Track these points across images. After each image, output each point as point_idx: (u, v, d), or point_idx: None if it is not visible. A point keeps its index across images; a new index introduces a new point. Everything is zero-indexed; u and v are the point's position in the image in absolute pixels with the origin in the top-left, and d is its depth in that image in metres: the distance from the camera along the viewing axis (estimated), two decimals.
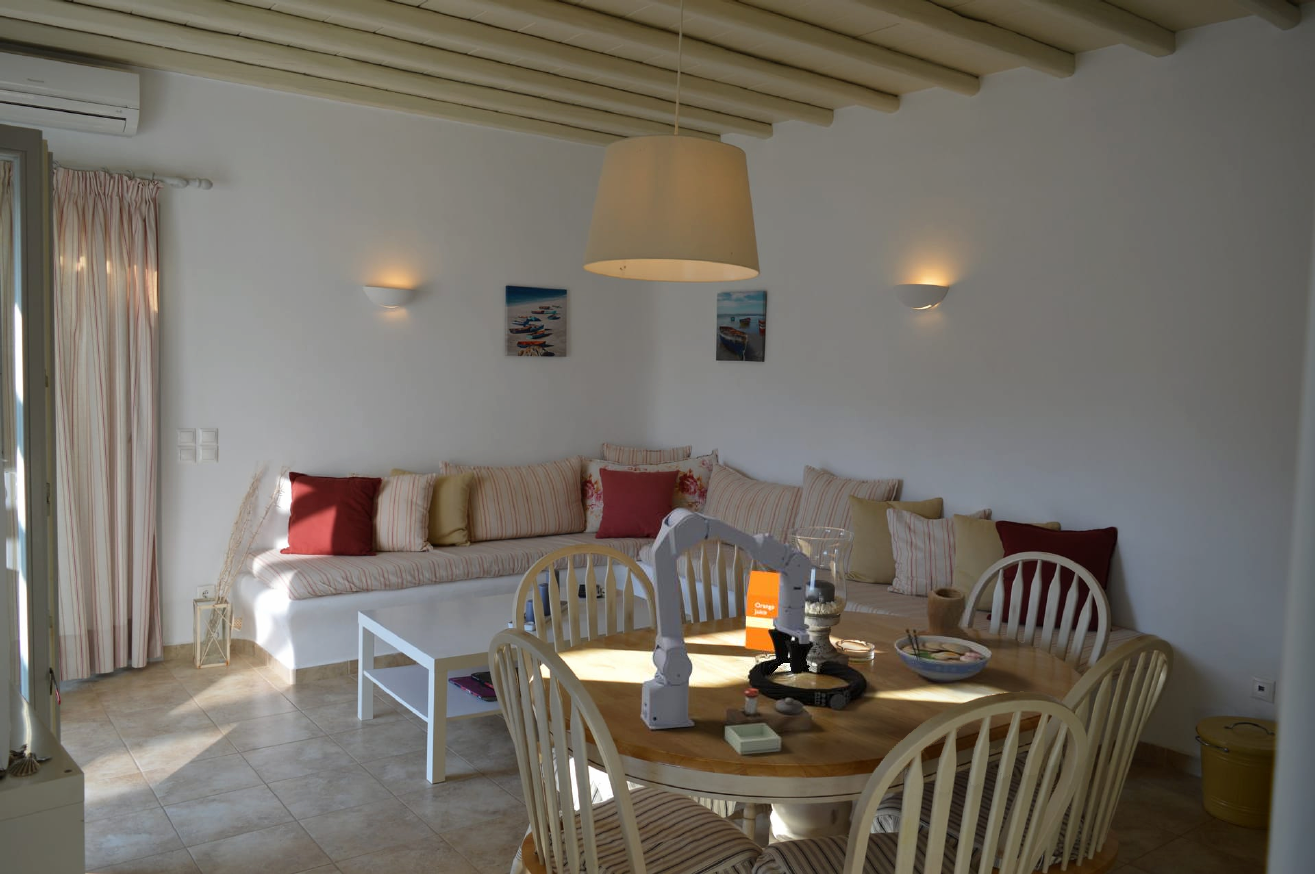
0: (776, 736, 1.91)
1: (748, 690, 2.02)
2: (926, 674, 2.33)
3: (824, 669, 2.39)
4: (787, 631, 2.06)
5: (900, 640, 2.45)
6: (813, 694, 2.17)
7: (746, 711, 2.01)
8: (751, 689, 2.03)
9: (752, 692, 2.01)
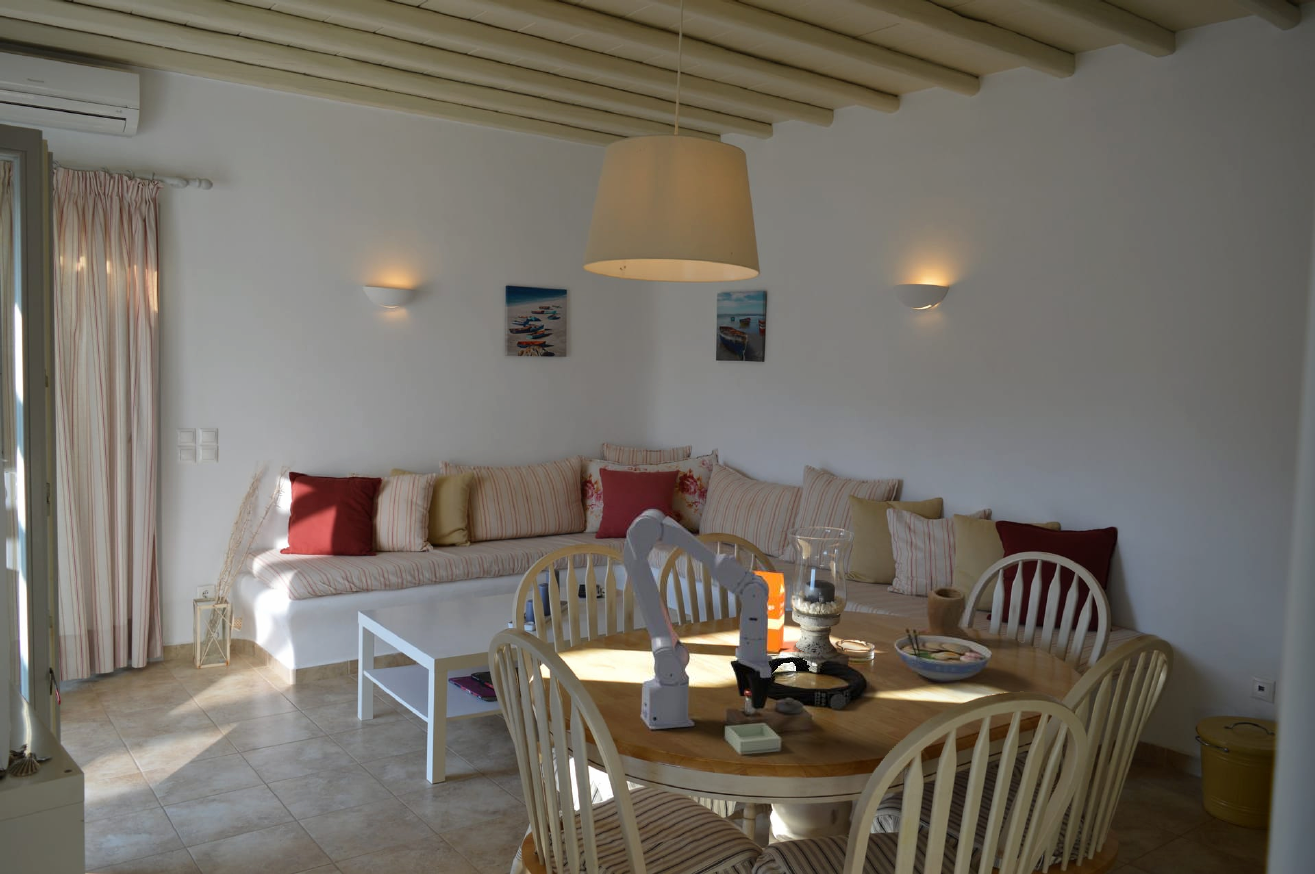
0: (776, 736, 1.91)
1: (748, 690, 2.02)
2: (926, 674, 2.33)
3: (824, 669, 2.39)
4: (748, 664, 1.98)
5: (900, 640, 2.45)
6: (813, 694, 2.17)
7: (746, 711, 2.01)
8: None
9: None
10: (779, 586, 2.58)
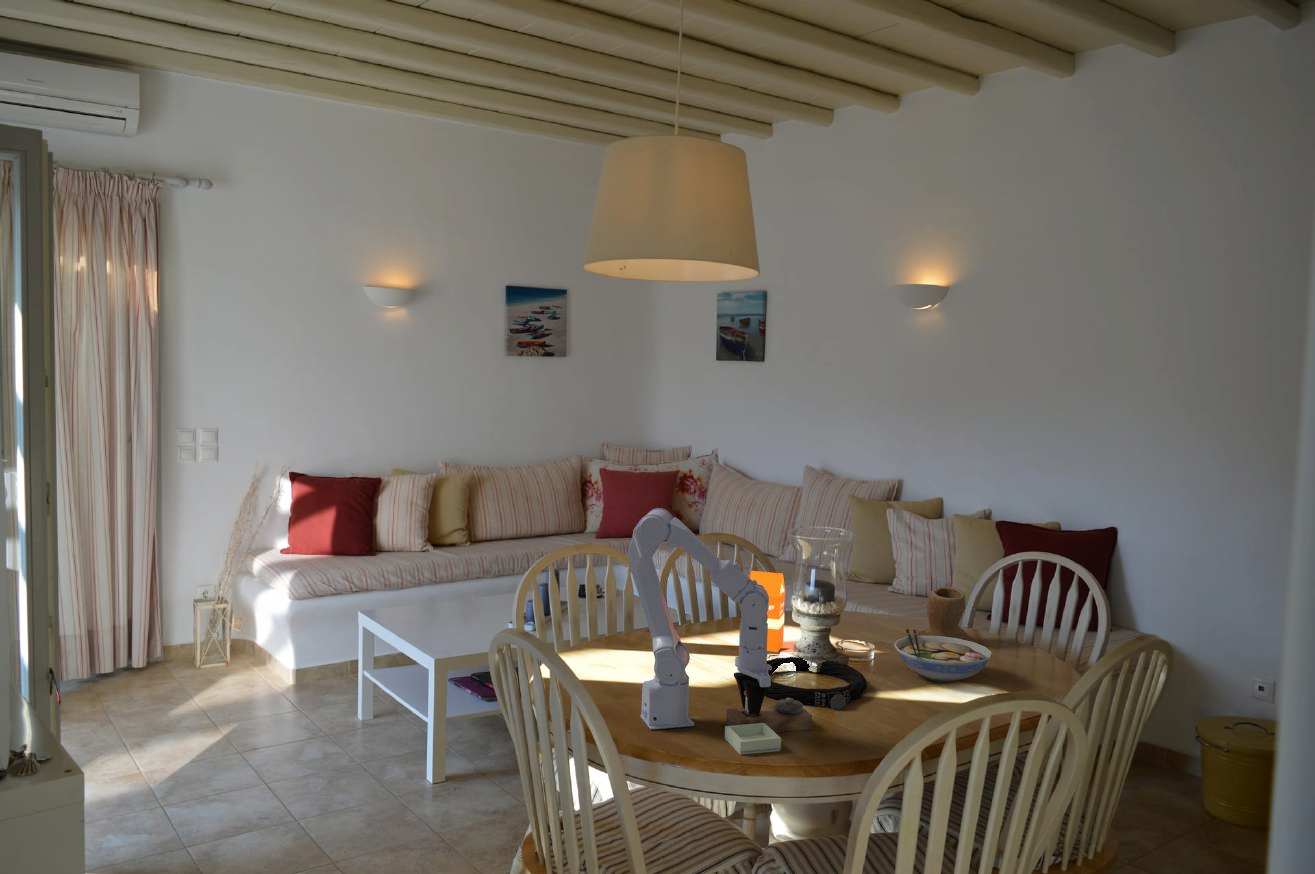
0: (776, 736, 1.91)
1: None
2: (926, 674, 2.33)
3: (824, 669, 2.39)
4: (748, 673, 1.98)
5: (900, 640, 2.45)
6: (813, 694, 2.17)
7: (746, 711, 2.01)
8: None
9: None
10: (779, 586, 2.58)
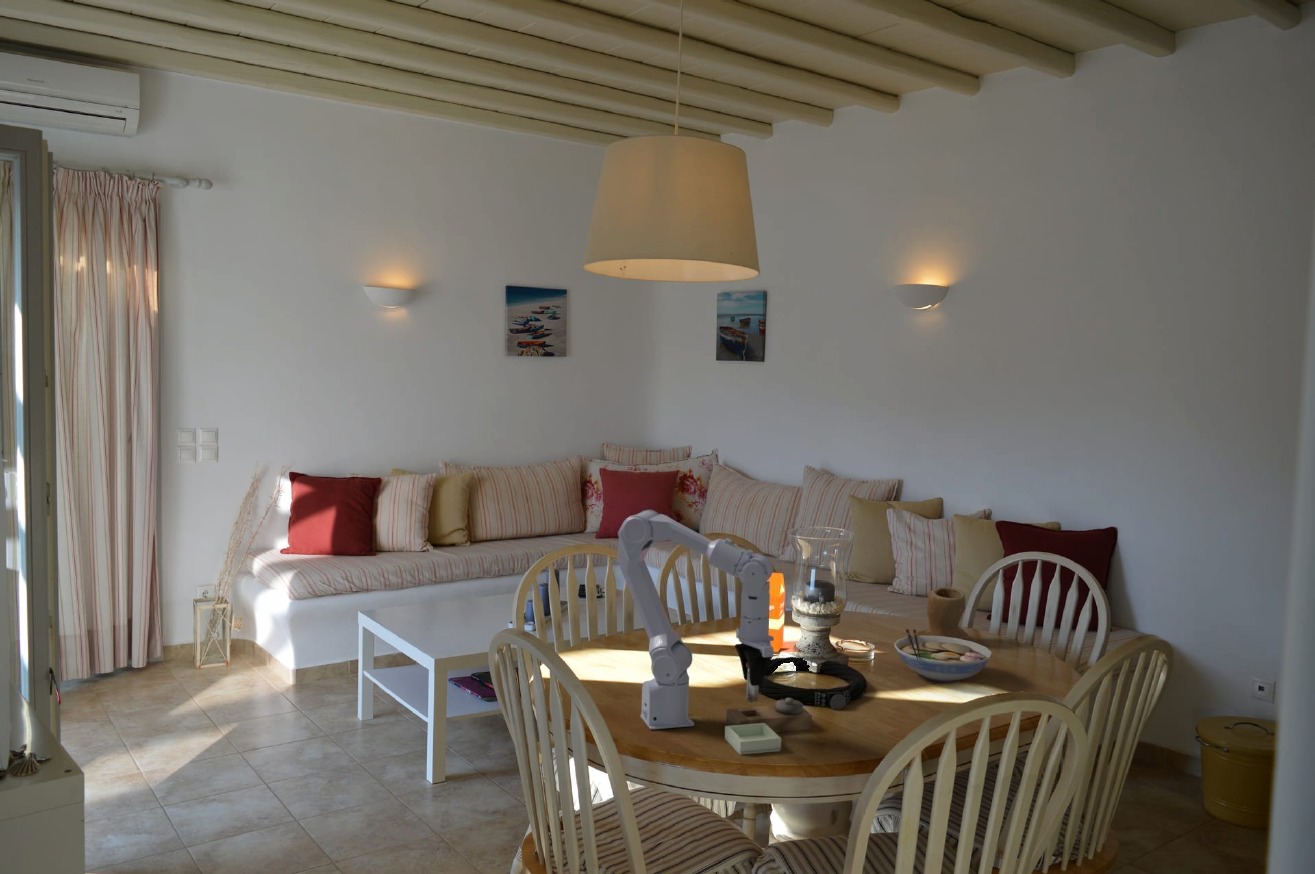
0: (776, 736, 1.91)
1: None
2: (926, 674, 2.33)
3: (824, 669, 2.39)
4: (750, 644, 1.95)
5: (900, 640, 2.45)
6: (813, 694, 2.17)
7: (748, 683, 1.98)
8: None
9: None
10: (779, 586, 2.58)
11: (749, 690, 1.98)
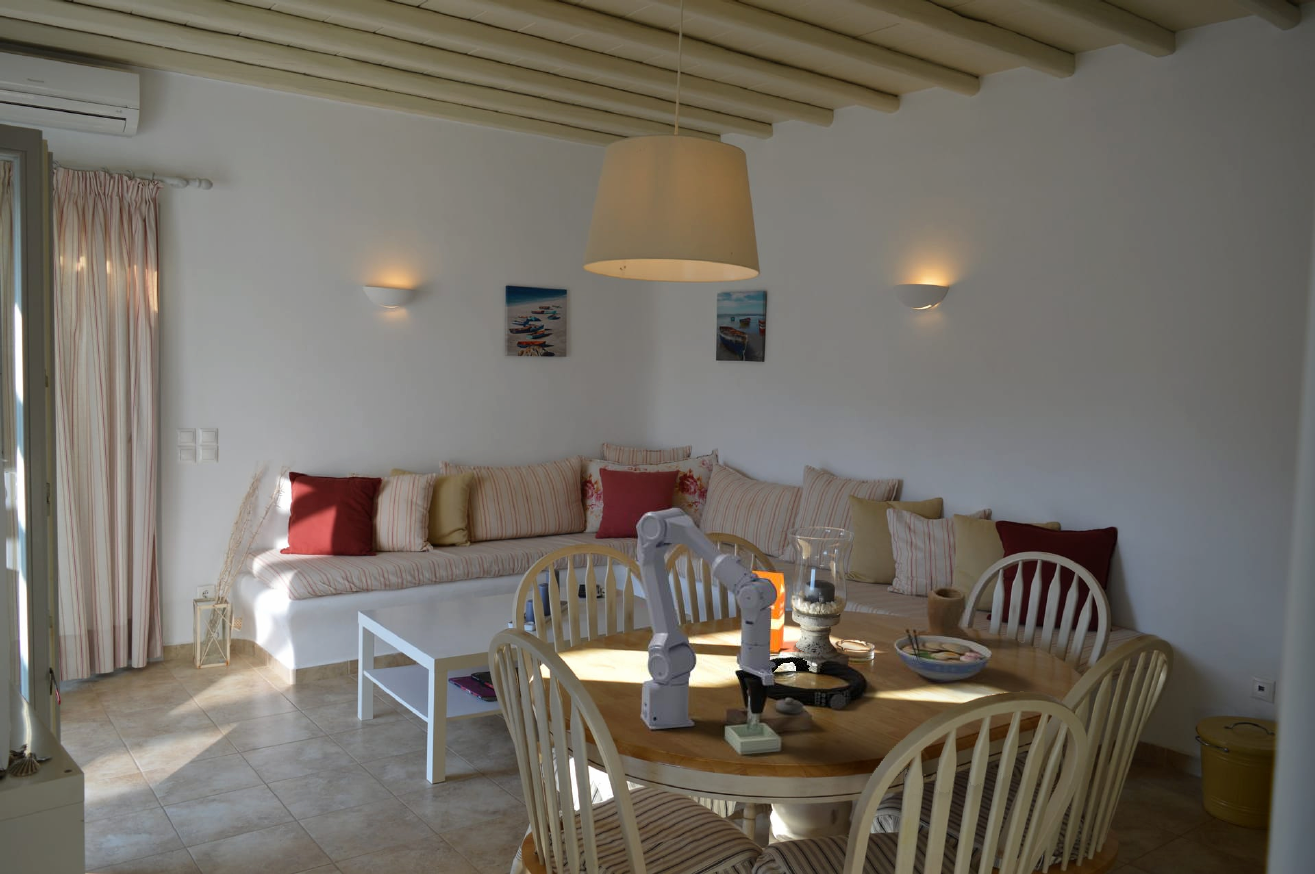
0: (776, 736, 1.91)
1: None
2: (926, 674, 2.33)
3: (824, 669, 2.39)
4: (750, 671, 1.89)
5: (900, 640, 2.45)
6: (813, 694, 2.17)
7: (749, 711, 1.92)
8: None
9: None
10: (779, 586, 2.58)
11: (750, 718, 1.92)
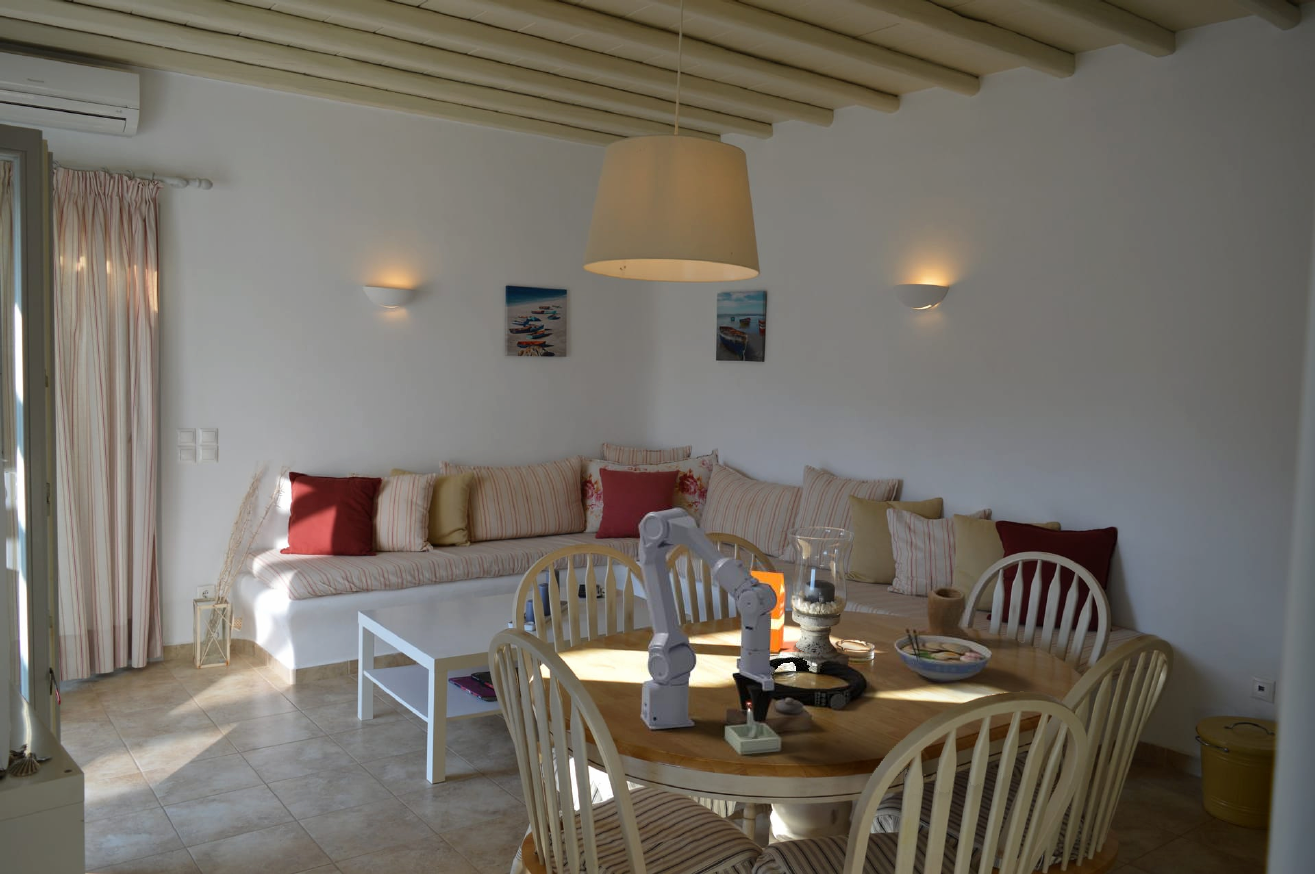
0: (776, 736, 1.91)
1: (750, 701, 1.93)
2: (926, 674, 2.33)
3: (824, 669, 2.39)
4: (750, 676, 1.89)
5: (900, 640, 2.45)
6: (813, 694, 2.17)
7: (748, 723, 1.93)
8: None
9: None
10: (779, 586, 2.58)
11: (749, 730, 1.92)
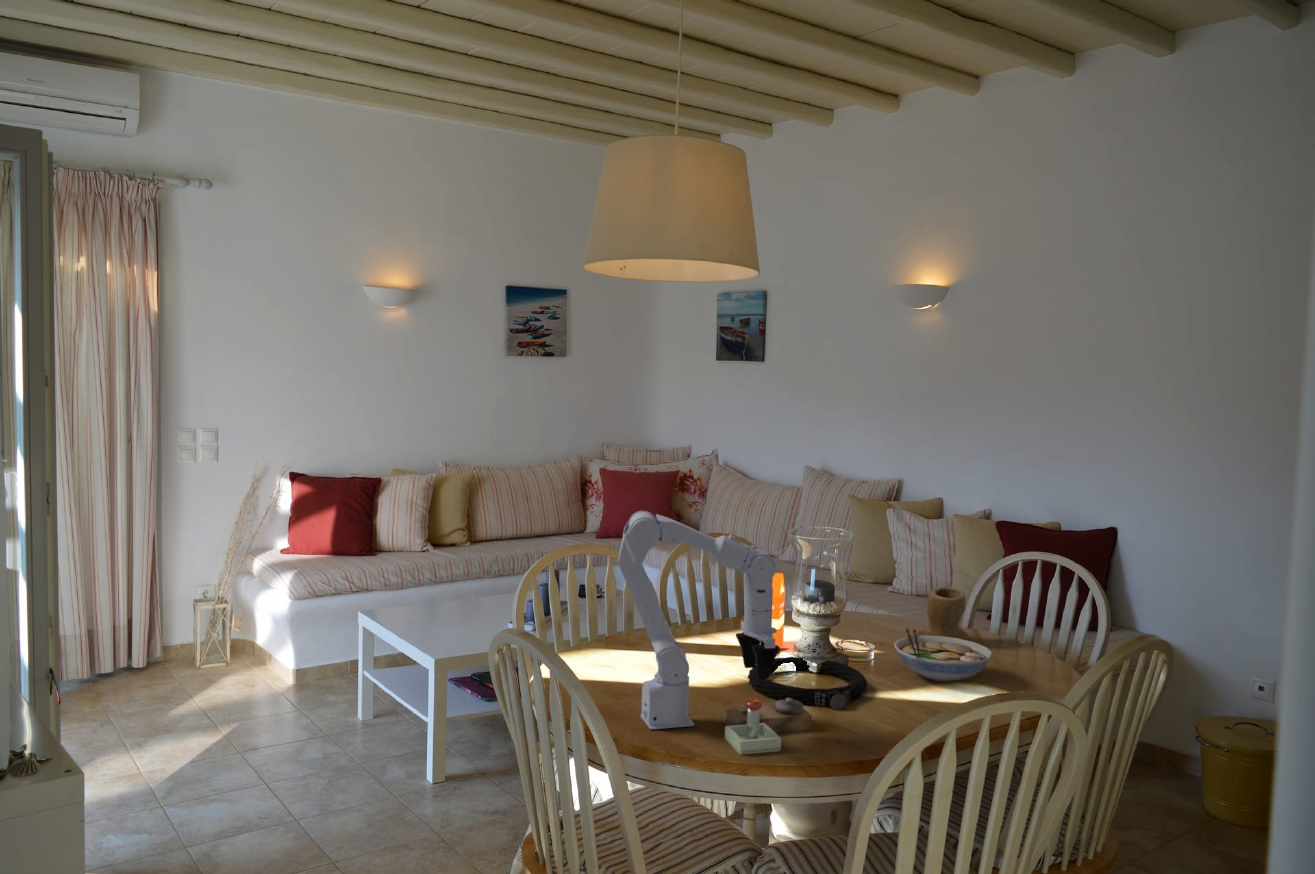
0: (776, 736, 1.91)
1: (750, 701, 1.93)
2: (926, 674, 2.33)
3: (824, 669, 2.39)
4: (753, 635, 2.01)
5: (900, 640, 2.45)
6: (813, 694, 2.17)
7: (748, 723, 1.93)
8: (753, 700, 1.94)
9: (754, 703, 1.92)
10: (779, 586, 2.58)
11: (749, 730, 1.92)
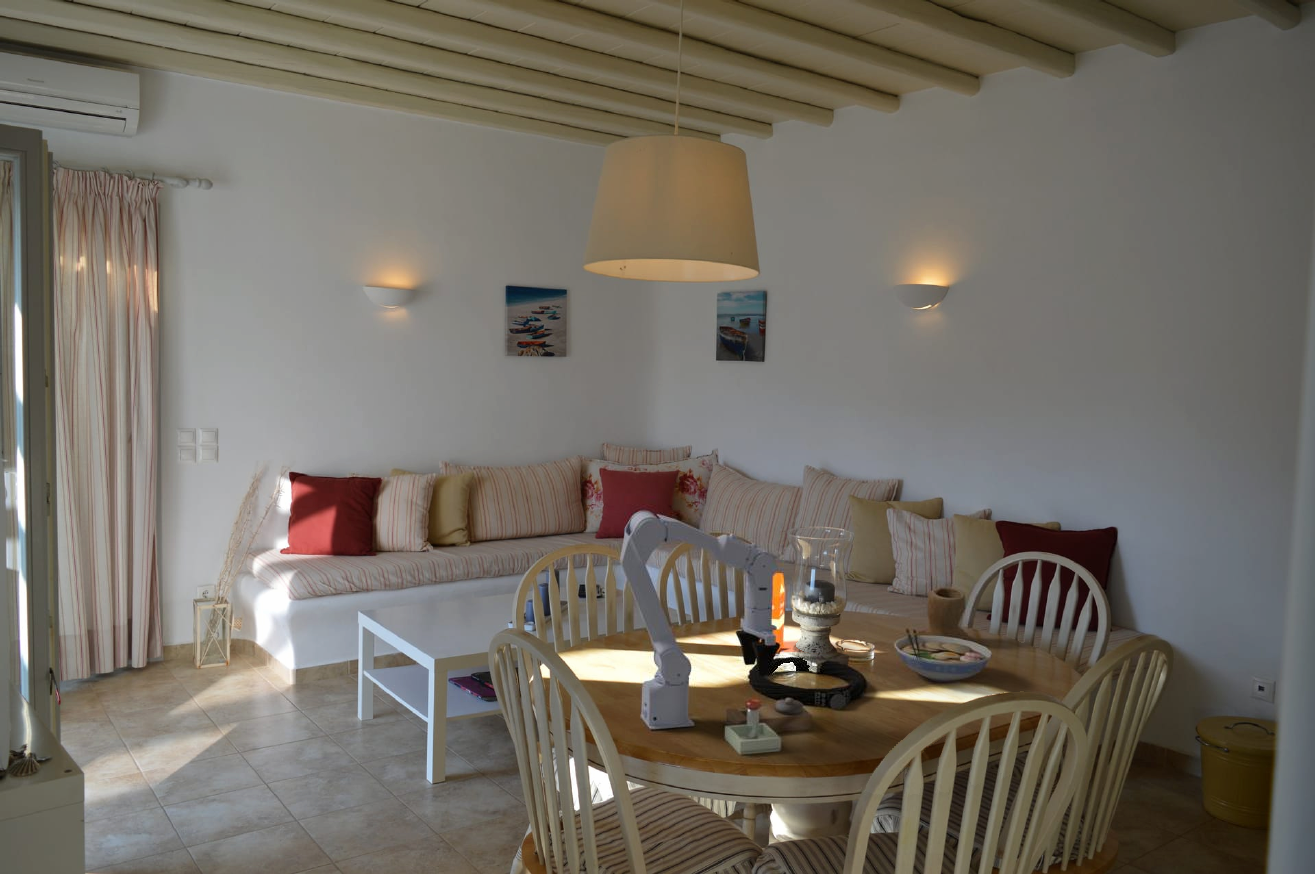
0: (776, 736, 1.91)
1: (750, 701, 1.93)
2: (926, 674, 2.33)
3: (824, 669, 2.39)
4: (753, 632, 2.03)
5: (900, 640, 2.45)
6: (813, 694, 2.17)
7: (748, 723, 1.93)
8: (752, 700, 1.94)
9: (754, 703, 1.92)
10: (779, 586, 2.58)
11: (749, 730, 1.92)
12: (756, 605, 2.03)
